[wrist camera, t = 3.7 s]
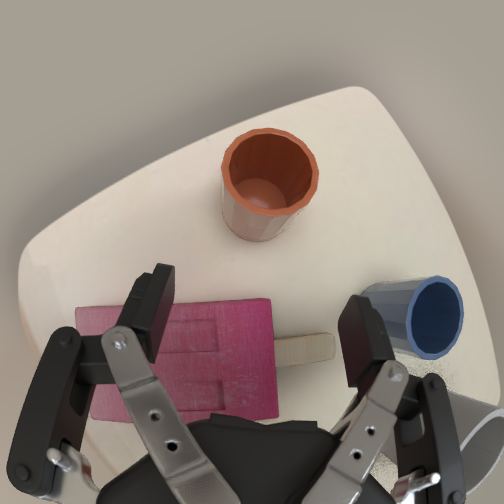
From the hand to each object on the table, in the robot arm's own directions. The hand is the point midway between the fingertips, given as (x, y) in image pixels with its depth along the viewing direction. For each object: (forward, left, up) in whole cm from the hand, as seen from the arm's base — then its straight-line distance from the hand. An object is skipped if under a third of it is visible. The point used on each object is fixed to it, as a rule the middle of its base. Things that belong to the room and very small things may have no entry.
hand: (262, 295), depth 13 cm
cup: (+15, -18, -12) cm, 26 cm away
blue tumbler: (+13, -5, -12) cm, 18 cm away
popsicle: (-4, -5, -12) cm, 14 cm away
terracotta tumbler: (+3, +7, -12) cm, 14 cm away
